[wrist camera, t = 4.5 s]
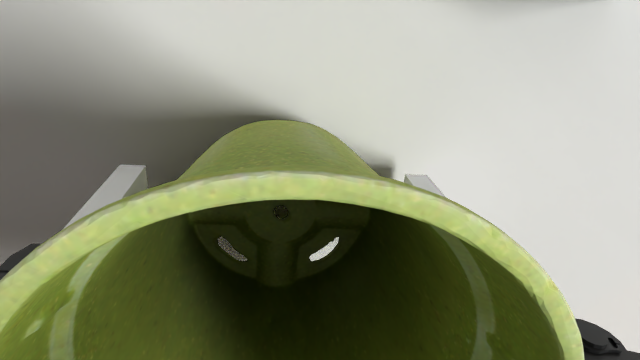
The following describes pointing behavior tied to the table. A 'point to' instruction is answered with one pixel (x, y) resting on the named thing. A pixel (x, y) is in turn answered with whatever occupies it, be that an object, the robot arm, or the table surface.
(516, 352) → the plant pot
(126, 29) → the table surface
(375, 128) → the table surface
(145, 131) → the table surface
